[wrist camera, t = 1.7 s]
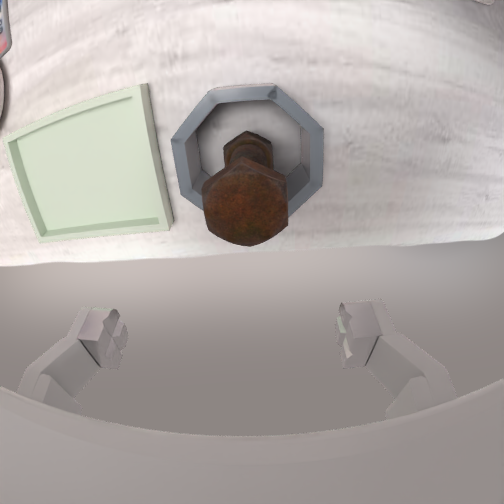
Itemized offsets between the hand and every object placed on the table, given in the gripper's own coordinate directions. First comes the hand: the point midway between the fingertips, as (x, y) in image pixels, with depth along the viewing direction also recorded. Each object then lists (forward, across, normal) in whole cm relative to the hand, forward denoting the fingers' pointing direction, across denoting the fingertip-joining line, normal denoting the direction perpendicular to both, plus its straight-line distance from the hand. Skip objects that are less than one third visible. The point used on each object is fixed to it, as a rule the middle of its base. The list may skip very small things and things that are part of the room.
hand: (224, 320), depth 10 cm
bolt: (+24, -1, 0) cm, 24 cm away
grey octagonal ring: (+24, -1, 0) cm, 24 cm away
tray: (+24, +20, 0) cm, 31 cm away
